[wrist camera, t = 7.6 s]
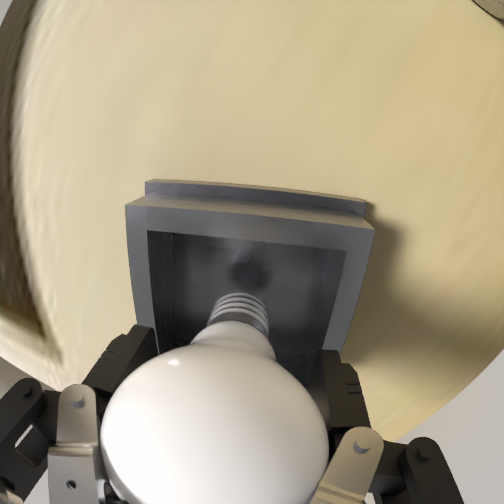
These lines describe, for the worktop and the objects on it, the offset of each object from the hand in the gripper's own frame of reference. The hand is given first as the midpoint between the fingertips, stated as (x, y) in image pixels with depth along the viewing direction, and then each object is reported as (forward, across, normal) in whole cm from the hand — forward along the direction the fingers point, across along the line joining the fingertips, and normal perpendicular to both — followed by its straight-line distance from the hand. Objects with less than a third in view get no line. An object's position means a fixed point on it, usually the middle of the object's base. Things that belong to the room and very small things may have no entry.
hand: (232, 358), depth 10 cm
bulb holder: (+6, 0, 0) cm, 6 cm away
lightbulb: (+4, 0, 0) cm, 4 cm away
